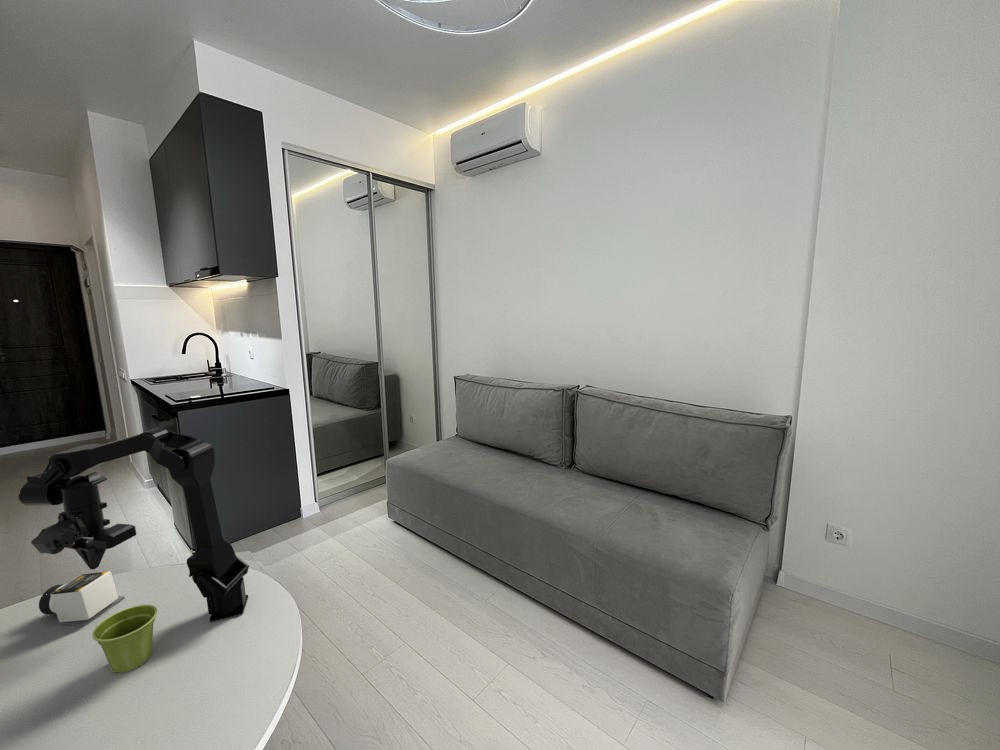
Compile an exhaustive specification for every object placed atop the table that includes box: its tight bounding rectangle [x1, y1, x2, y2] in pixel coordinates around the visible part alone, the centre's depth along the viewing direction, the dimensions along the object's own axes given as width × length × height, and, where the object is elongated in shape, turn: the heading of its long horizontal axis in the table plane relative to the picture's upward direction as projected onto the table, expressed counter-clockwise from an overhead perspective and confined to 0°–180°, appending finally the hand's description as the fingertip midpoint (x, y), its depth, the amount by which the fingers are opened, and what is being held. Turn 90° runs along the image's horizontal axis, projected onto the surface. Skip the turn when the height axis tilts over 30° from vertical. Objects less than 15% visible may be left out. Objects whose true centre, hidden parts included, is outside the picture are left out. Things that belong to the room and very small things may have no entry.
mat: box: [40, 595, 126, 628], centre depth 95 cm, size 11×9×1 cm
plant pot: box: [91, 604, 158, 674], centre depth 81 cm, size 9×9×9 cm
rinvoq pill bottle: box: [38, 570, 119, 622], centre depth 94 cm, size 7×7×12 cm
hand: (94, 568), depth 93 cm, fingers closed
